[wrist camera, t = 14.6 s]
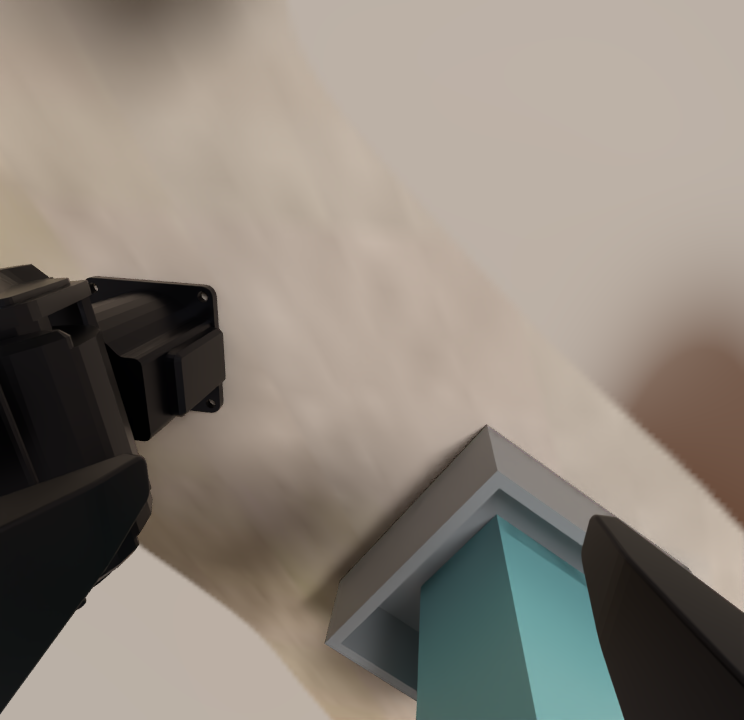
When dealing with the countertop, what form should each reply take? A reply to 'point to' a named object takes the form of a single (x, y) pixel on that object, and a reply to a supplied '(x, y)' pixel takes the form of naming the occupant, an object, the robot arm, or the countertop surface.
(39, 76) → the countertop surface
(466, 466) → the gray square tray
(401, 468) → the countertop surface
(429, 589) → the teal square planter
